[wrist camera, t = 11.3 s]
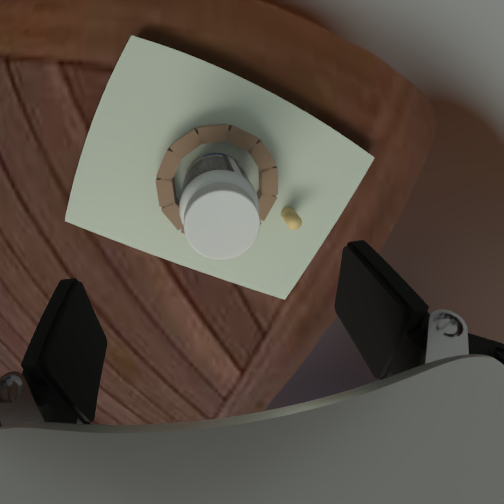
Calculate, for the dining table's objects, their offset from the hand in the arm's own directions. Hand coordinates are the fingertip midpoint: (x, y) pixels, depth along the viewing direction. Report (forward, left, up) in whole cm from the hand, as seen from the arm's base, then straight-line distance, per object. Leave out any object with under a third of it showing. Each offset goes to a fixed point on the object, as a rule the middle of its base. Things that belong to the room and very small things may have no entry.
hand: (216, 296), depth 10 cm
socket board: (+1, 0, -15) cm, 15 cm away
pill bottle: (+1, 0, -14) cm, 14 cm away
